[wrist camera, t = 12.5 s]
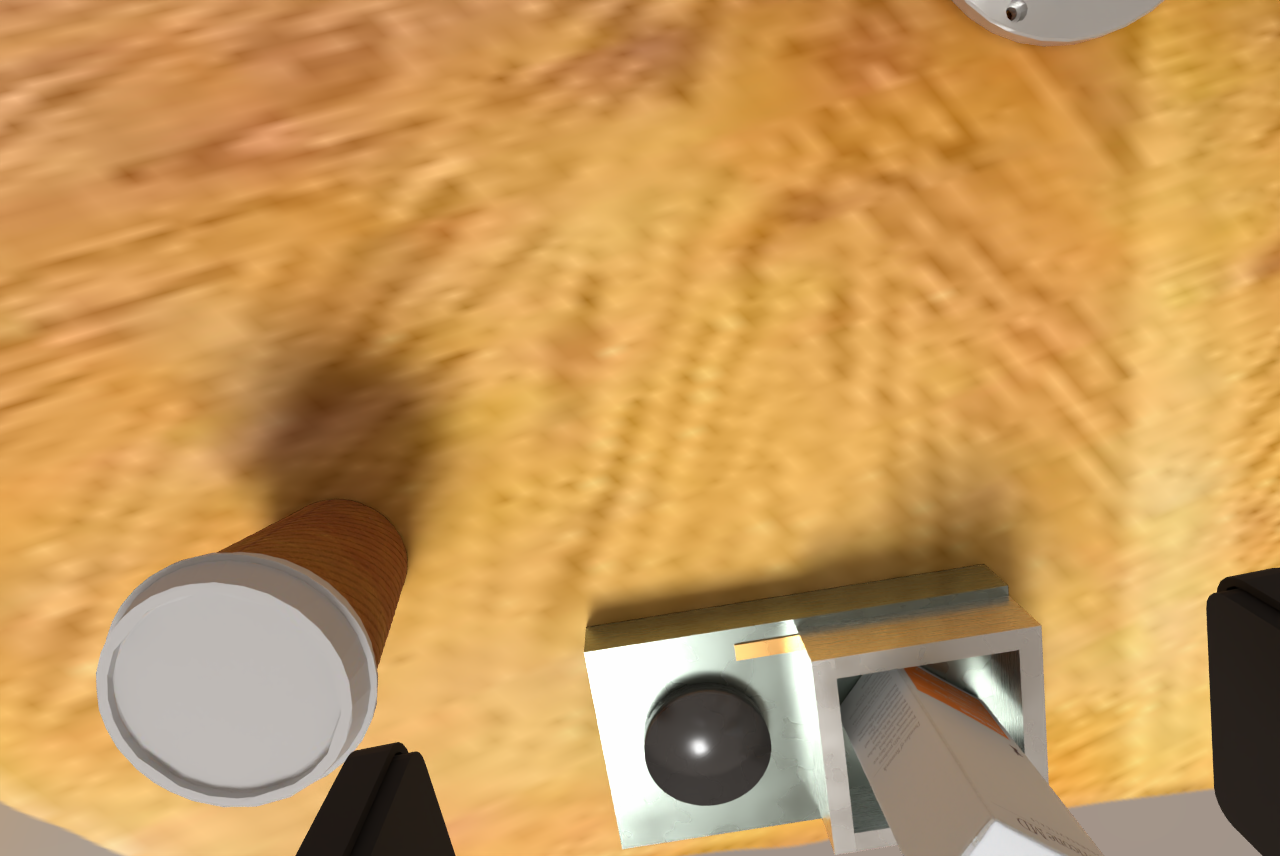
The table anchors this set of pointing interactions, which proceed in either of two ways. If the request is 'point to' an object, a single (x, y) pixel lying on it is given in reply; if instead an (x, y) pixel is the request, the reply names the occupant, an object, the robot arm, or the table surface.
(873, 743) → the skincare box
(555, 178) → the table surface
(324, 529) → the disposable coffee cup
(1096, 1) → the robot arm
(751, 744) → the divided tray with ball
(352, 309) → the table surface
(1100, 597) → the table surface
